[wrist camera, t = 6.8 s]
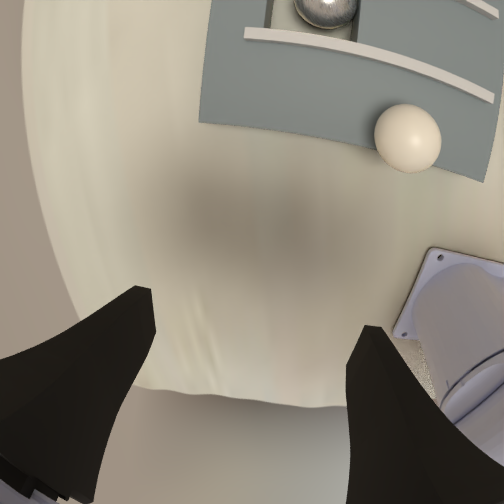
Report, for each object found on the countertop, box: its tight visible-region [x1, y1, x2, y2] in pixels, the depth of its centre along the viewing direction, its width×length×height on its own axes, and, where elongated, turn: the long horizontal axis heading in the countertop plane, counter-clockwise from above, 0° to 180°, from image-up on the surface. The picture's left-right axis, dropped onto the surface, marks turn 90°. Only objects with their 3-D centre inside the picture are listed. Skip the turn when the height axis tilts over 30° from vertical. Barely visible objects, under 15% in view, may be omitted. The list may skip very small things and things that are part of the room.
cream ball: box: [374, 104, 441, 173], centre depth 12 cm, size 3×3×3 cm
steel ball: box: [294, 0, 357, 29], centre depth 11 cm, size 3×3×3 cm
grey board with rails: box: [199, 0, 504, 183], centre depth 11 cm, size 16×15×3 cm
